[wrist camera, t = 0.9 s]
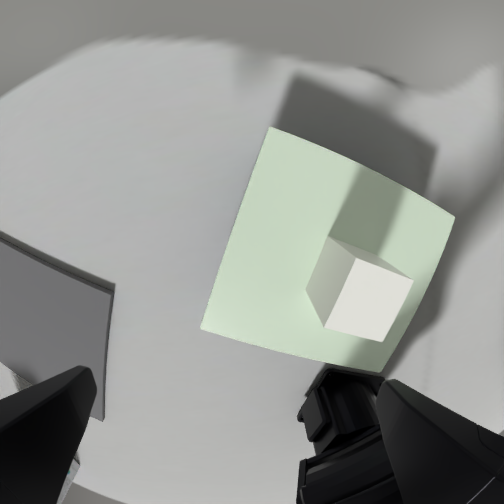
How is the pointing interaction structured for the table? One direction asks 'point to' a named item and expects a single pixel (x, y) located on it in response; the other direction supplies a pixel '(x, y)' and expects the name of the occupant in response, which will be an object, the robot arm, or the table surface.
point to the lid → (325, 257)
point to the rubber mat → (51, 321)
